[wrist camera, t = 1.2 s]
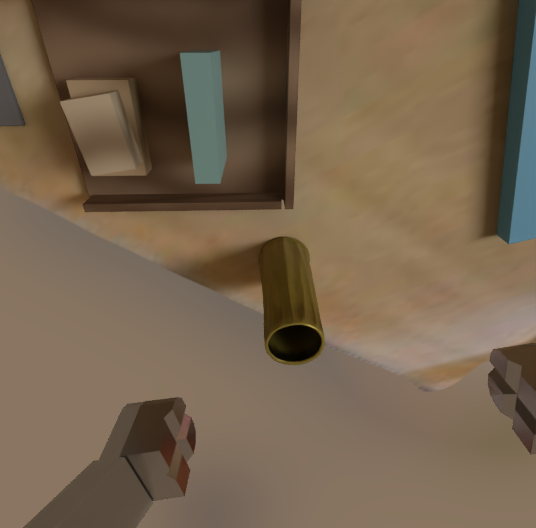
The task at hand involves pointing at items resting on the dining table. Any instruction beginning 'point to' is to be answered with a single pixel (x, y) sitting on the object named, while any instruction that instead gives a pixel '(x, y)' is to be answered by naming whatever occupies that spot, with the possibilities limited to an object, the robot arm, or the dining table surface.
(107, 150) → the offcut top
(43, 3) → the brown wooden tray
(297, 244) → the vase
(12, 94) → the mat
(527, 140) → the tetris game
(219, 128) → the teal rectangular block
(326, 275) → the dining table surface
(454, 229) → the dining table surface
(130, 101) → the offcut low
